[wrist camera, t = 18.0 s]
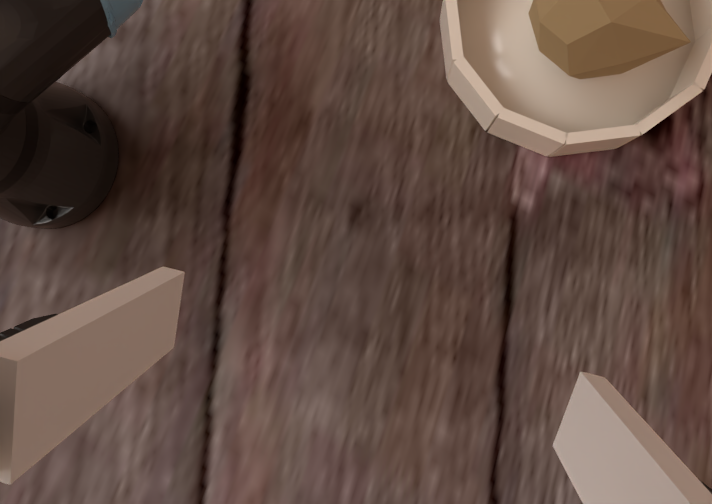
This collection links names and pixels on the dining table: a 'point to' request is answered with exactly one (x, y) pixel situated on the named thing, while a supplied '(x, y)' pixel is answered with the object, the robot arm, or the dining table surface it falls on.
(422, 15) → the dining table surface
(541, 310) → the dining table surface
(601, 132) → the cream bowl
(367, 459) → the dining table surface
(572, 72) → the low-poly potato
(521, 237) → the dining table surface
